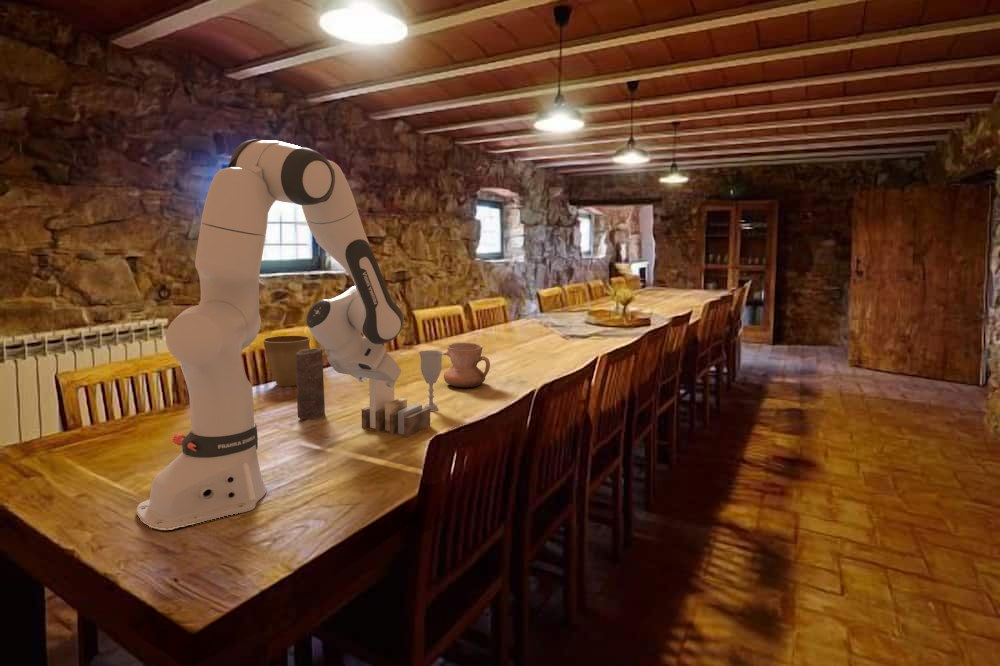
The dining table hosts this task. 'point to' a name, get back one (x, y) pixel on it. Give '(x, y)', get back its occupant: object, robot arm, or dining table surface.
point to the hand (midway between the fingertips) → (377, 382)
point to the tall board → (378, 398)
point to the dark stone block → (310, 384)
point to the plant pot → (284, 357)
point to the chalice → (431, 372)
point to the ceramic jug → (465, 365)
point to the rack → (411, 422)
